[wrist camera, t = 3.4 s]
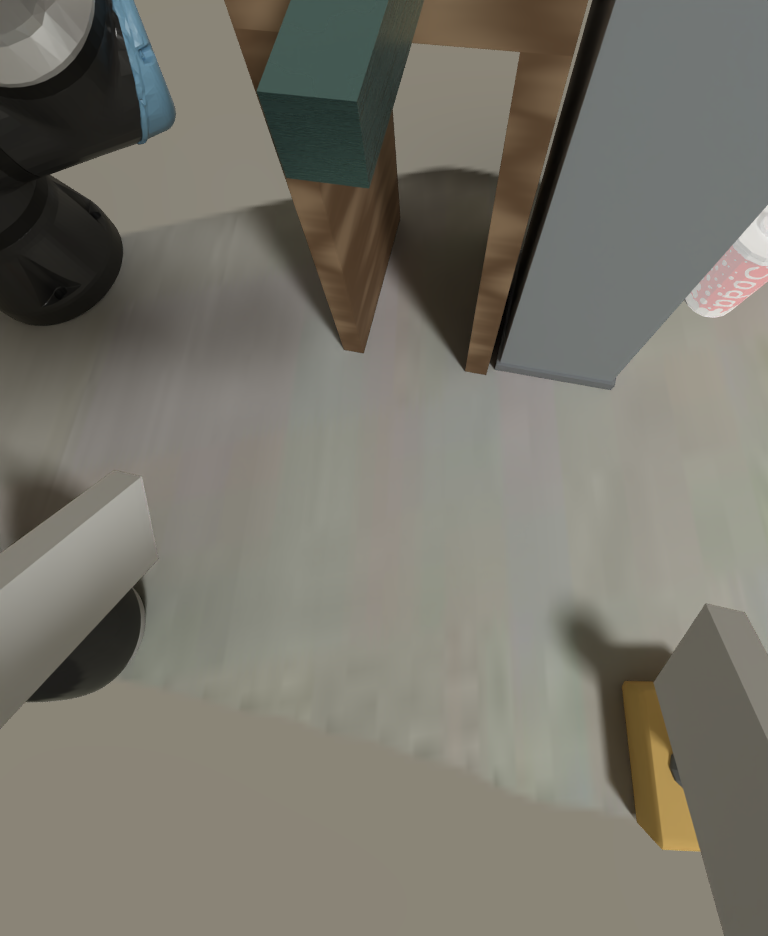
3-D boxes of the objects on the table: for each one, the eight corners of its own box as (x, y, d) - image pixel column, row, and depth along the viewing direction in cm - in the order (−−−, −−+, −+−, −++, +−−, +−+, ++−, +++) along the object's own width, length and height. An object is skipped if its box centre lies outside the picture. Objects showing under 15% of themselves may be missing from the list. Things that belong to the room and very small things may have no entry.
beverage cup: (668, 313, 45) (770, 195, 32) (685, 260, 47) (791, 125, 33) (735, 333, 44) (871, 220, 31) (751, 278, 45) (889, 146, 32)
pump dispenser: (114, 542, 44) (-40, 518, 30) (187, 620, 42) (60, 636, 27) (31, 628, 43) (-173, 648, 28) (102, 714, 41) (-81, 784, 26)
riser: (344, 349, 47) (213, -32, 18) (381, 214, 51) (322, -283, 22) (486, 374, 45) (590, -7, 16) (515, 233, 49) (642, -287, 20)
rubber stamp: (619, 680, 38) (703, 719, 27) (696, 682, 38) (815, 722, 26) (635, 824, 36) (735, 937, 24) (717, 828, 35) (860, 945, 24)
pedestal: (494, 369, 45) (609, -7, 17) (517, 256, 48) (648, -231, 20) (610, 389, 44) (951, 16, 15) (627, 272, 47) (941, -230, 18)
